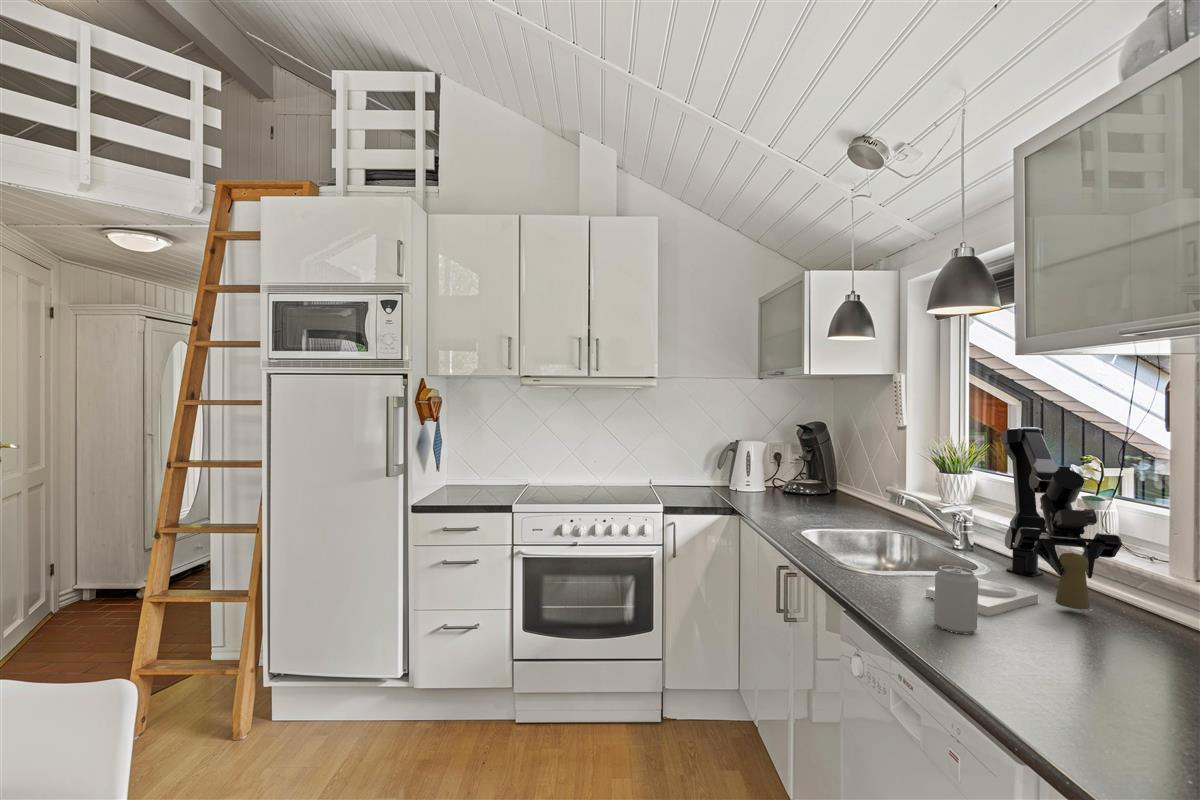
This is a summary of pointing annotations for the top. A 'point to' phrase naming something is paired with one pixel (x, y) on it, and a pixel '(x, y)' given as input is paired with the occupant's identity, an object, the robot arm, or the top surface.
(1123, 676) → the top surface
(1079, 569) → the cork
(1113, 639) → the top surface
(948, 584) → the can
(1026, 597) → the kitchen scale
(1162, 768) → the top surface
